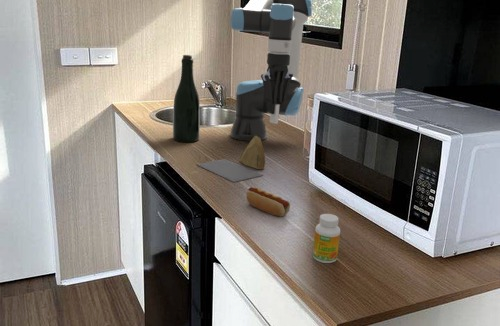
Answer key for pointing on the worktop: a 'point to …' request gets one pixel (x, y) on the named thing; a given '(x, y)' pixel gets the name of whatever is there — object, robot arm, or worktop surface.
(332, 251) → the supplement bottle
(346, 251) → the worktop surface
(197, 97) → the dark green wine bottle
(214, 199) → the worktop surface
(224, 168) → the mat
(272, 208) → the food
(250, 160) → the yellow wedge
